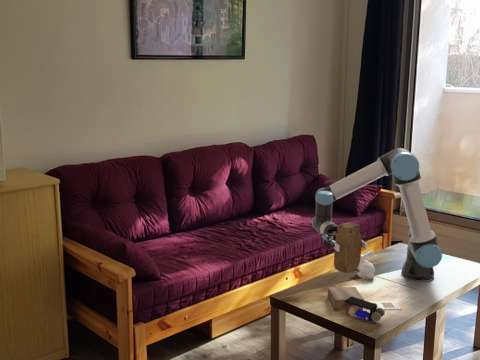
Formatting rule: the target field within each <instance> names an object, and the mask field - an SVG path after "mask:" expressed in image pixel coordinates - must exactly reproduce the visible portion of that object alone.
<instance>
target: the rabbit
mask: <svg viewBox="0 0 480 360" xmlns="http://www.w3.org/2000/svg"><path fill="white" fill-rule="evenodd" d="M374 252H375V251H374V250H373V249H370V250H368V251H367V252H366V253H364V254H361V258H360V263H359V266H358V268H357V269H358V270H359V271H358V272H357V276H358V277H359V278H362V279H364V280H373V279H374V278H375V275H376V274H375V273H376V268H375V267H374V265H373V263H371V262H369V261H368V260H367V258H370V257H373V256H374V254H375V253H374Z"/></svg>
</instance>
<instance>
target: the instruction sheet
mask: <svg viewBox="0 0 480 360" xmlns="http://www.w3.org/2000/svg"><path fill="white" fill-rule="evenodd" d="M367 301H368V302H371V303H374V304H377V308H382V309H383V310H384V311H400V310H402V308H401V307H400V305H399V304H398V303H397V301H395V300H376V301H375V300H371V301H370V300H367ZM365 311H369V310H368V309H365Z"/></svg>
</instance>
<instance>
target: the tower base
mask: <svg viewBox="0 0 480 360" xmlns="http://www.w3.org/2000/svg"><path fill="white" fill-rule="evenodd" d="M351 296H352V297H355V298H359V299H362V300H364V298H363V296H362V295H361V293H360V292H359V290H358V289H357V287H355V286H340V287H339V286H338V287H337V286H333V287H332V286H331V287H330V286H328V287H327V300H328V302H329V304H330V305H331V307H332V309H333V311H334V312H346V311H345V309H346V307H347V305H349V304H350V303H347V302H345V300H347V299H348V298H349V297H351ZM357 308H358V309H361V310H364V308H362V307H359V306H357Z"/></svg>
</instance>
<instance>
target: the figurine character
mask: <svg viewBox="0 0 480 360" xmlns="http://www.w3.org/2000/svg"><path fill="white" fill-rule="evenodd" d="M368 301H369V300H362V299H359V298H355V297H352V296H351V297H349V298H348V299H347V300H345V302H347V303H350V304H349V305H347V307H346V309H345V311H344V312H345V313H346V315H347V316H349V317H357V318H359V319H363V320H365V321H367V322H369V323H371V324H372V325H376V323H377V321H378V322H380V320H381V319H382V318H383V317H384V316H385V315H386V310H383V309H382V308H377V304H374V303H371V302H368ZM357 306H359V307H362V308H363V310H361V309H358V308H357ZM364 309H365V310H364ZM366 309H368V310H366ZM375 322H376V323H375Z"/></svg>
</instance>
